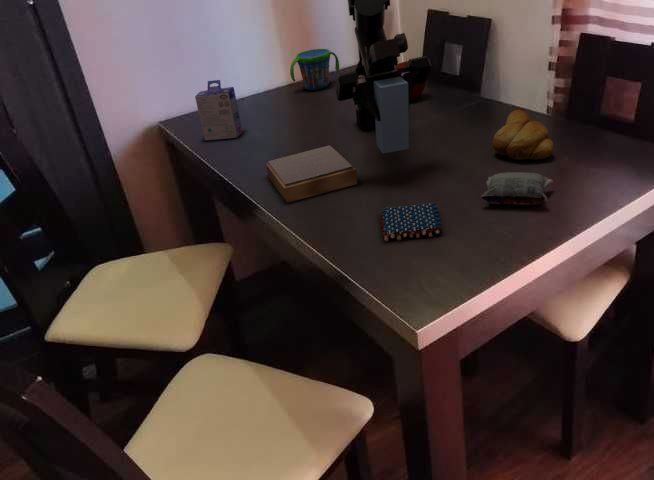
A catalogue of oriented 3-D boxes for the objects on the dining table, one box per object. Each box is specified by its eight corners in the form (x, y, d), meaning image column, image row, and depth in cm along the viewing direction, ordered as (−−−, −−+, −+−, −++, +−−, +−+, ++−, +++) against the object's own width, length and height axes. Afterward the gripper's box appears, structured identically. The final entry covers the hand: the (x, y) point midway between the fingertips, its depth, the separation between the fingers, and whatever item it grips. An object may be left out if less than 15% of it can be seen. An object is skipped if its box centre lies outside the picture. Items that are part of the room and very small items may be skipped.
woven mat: (380, 216, 120) (379, 206, 119) (436, 210, 119) (436, 200, 117) (382, 242, 112) (381, 232, 111) (442, 236, 110) (442, 226, 109)
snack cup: (336, 78, 201) (332, 44, 195) (345, 85, 193) (342, 50, 187) (289, 88, 200) (284, 55, 194) (297, 97, 192) (291, 62, 186)
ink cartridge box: (243, 131, 174) (232, 77, 165) (238, 138, 170) (227, 83, 161) (210, 134, 176) (198, 81, 168) (204, 141, 172) (191, 87, 163)
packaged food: (487, 188, 123) (488, 164, 119) (552, 190, 118) (555, 165, 115) (479, 209, 117) (480, 184, 114) (547, 212, 112) (549, 186, 109)
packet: (401, 140, 131) (400, 76, 123) (409, 148, 127) (408, 82, 119) (376, 145, 131) (373, 81, 123) (383, 153, 127) (380, 87, 119)
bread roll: (563, 155, 129) (567, 116, 124) (527, 170, 126) (530, 131, 121) (517, 141, 139) (519, 104, 134) (483, 154, 136) (484, 117, 131)
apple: (392, 95, 178) (390, 58, 172) (426, 91, 176) (425, 53, 170) (392, 106, 170) (390, 68, 165) (428, 102, 169) (427, 63, 163)
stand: (333, 160, 147) (331, 143, 144) (357, 184, 134) (355, 166, 132) (268, 177, 145) (265, 161, 142) (286, 203, 132) (283, 185, 129)
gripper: (332, 30, 118) (352, 106, 116) (427, 10, 119) (449, 85, 116) (327, 65, 129) (346, 134, 127) (415, 46, 130) (434, 115, 127)
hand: (393, 117), depth 124 cm, fingers closed on packet, 5 cm apart
